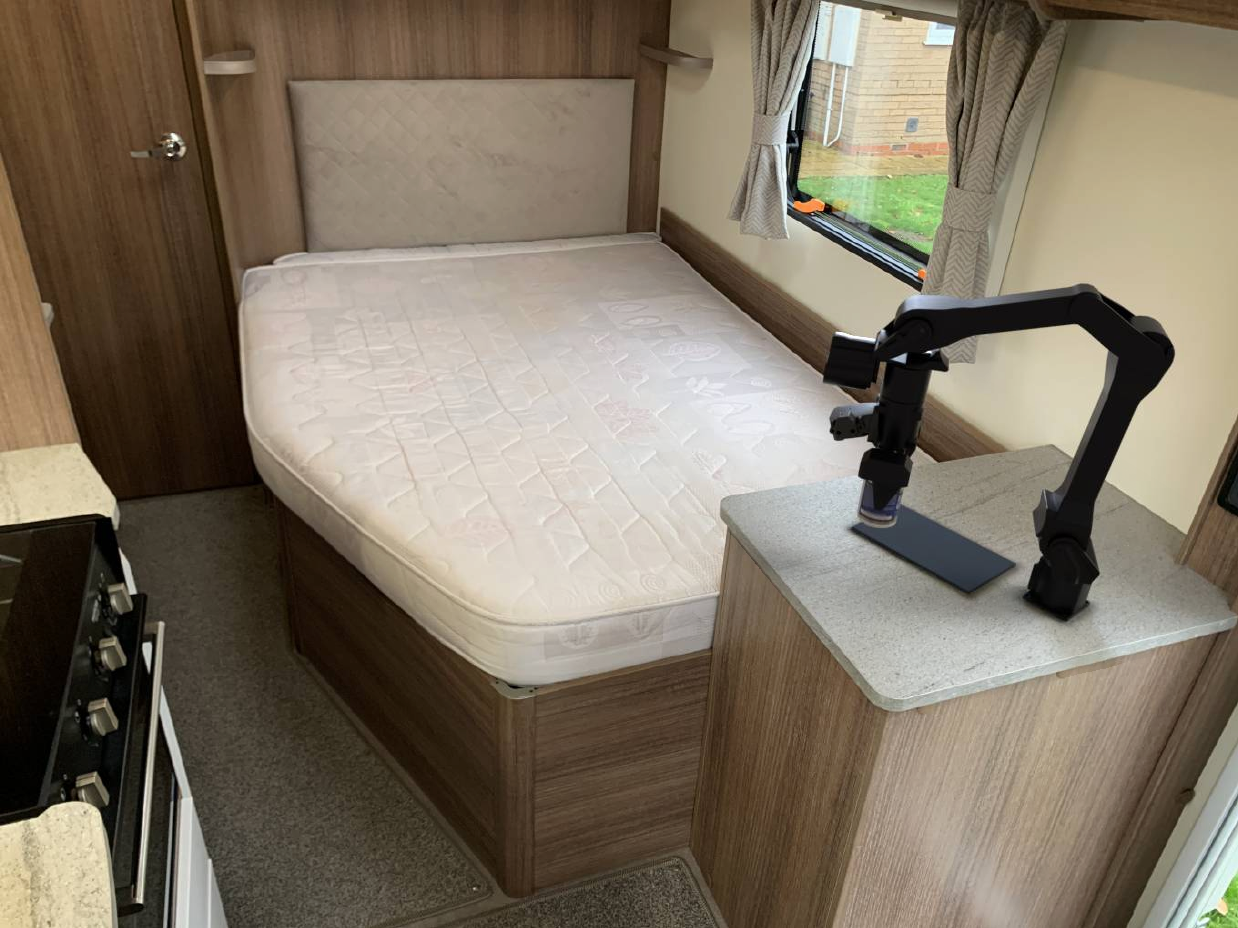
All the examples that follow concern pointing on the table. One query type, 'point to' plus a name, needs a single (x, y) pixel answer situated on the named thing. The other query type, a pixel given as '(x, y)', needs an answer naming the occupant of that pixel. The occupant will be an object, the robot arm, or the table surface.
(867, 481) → the pill bottle
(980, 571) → the rubber mat
